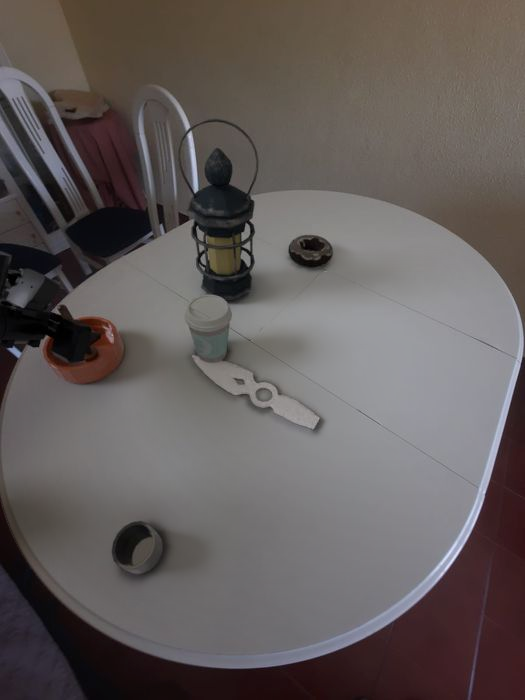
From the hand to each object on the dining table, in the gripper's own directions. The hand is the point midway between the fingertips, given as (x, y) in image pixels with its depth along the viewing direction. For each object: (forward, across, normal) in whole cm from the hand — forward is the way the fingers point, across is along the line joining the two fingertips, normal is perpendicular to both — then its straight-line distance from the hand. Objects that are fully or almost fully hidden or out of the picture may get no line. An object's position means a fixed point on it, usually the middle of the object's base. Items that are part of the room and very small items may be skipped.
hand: (81, 327), depth 63 cm
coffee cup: (+13, -21, -2) cm, 25 cm away
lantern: (+26, -13, -16) cm, 33 cm away
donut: (+42, -26, -31) cm, 58 cm away
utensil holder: (-11, -31, +22) cm, 39 cm away
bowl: (+4, 0, +6) cm, 8 cm away
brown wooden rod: (+4, 0, +6) cm, 7 cm away
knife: (+10, -32, 0) cm, 33 cm away
